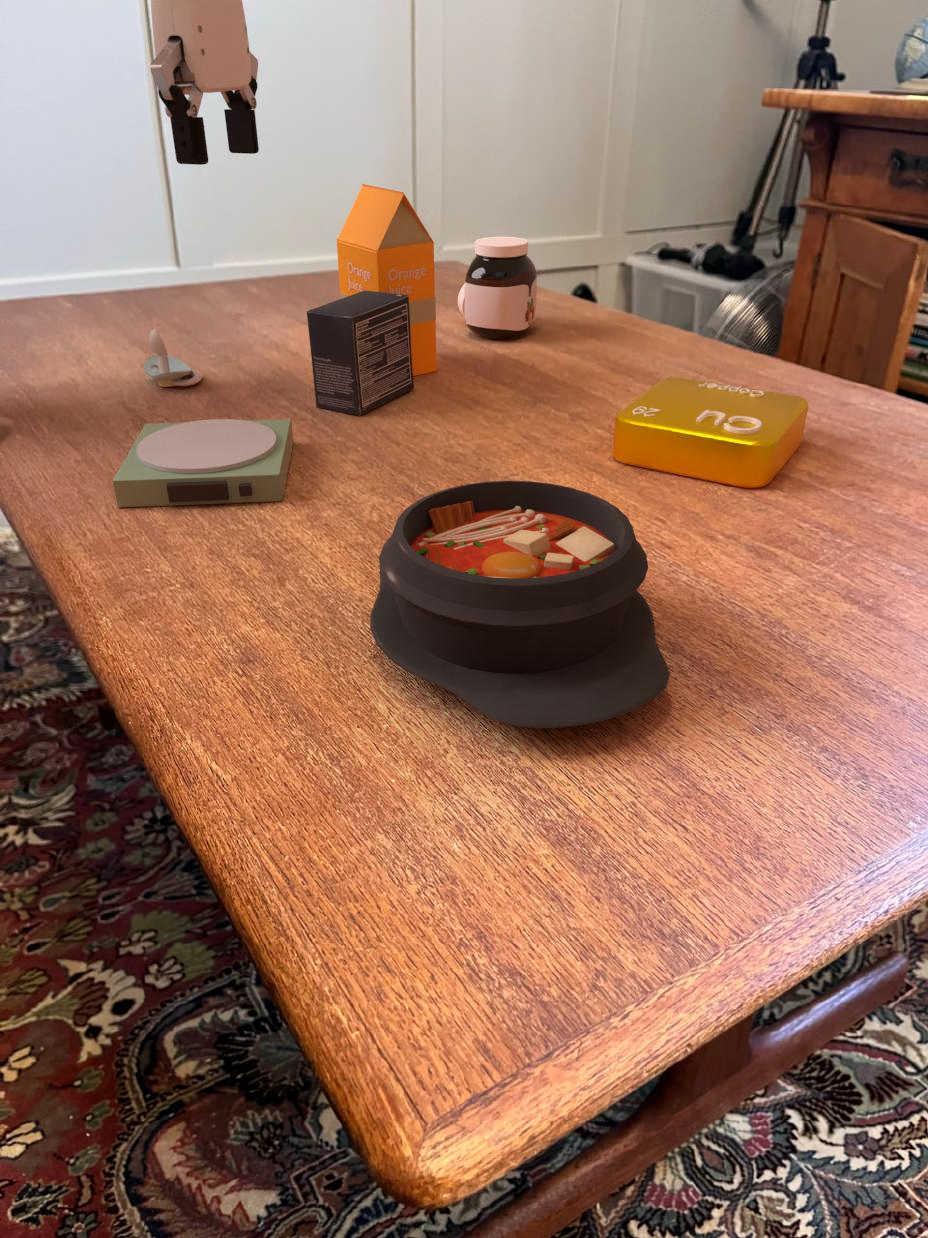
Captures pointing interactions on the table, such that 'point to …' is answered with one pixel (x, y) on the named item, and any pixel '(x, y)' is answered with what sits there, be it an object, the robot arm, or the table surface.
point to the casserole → (521, 603)
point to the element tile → (710, 431)
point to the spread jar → (499, 289)
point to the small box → (361, 351)
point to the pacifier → (167, 365)
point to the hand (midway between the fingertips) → (219, 157)
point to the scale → (206, 463)
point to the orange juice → (392, 263)
